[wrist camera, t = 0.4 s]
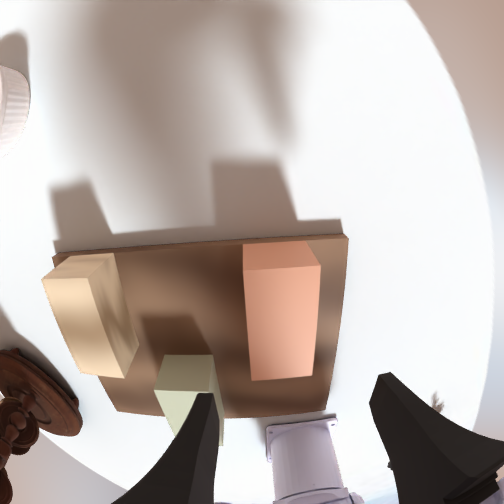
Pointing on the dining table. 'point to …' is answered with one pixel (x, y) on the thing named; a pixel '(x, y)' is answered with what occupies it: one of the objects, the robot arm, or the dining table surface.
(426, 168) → the dining table surface
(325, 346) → the walnut board
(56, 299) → the birch brick
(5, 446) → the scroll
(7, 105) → the ramekin
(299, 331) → the terracotta brick
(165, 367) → the sage green brick
